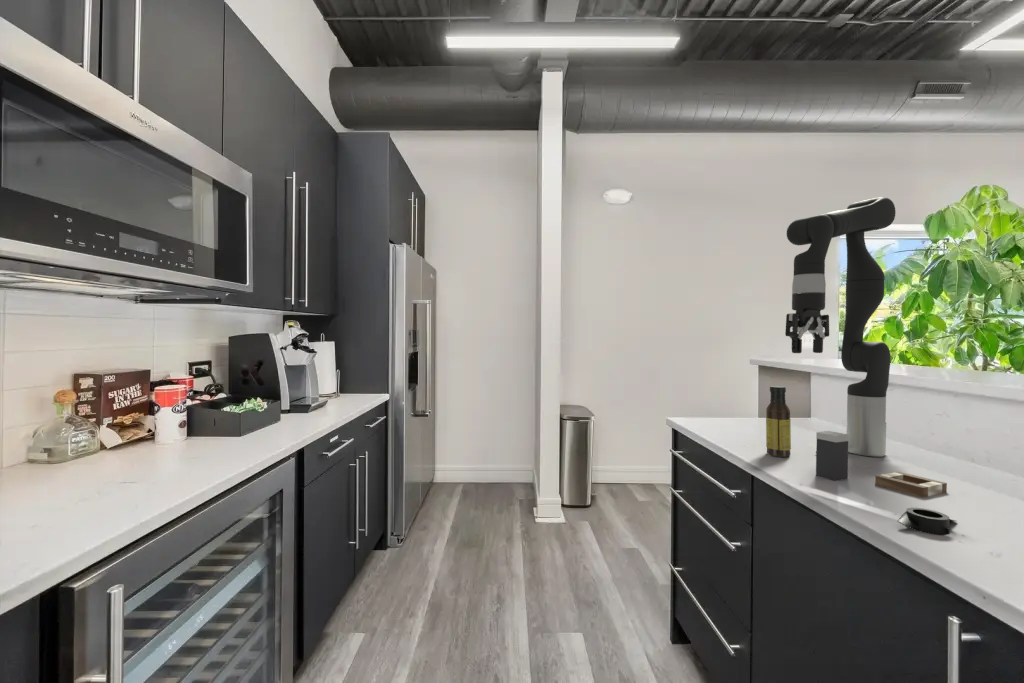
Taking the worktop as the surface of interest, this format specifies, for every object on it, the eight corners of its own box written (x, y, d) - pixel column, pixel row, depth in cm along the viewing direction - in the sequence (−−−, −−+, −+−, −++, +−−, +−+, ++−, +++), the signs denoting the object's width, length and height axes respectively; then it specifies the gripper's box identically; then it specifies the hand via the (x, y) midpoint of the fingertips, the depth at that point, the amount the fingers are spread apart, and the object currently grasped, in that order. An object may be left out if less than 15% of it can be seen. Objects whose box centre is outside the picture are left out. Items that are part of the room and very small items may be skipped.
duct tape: (885, 517, 90) (886, 502, 90) (953, 526, 86) (953, 510, 86) (899, 532, 83) (900, 516, 83) (974, 543, 79) (974, 526, 79)
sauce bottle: (790, 454, 137) (792, 386, 137) (790, 458, 132) (792, 388, 132) (765, 451, 140) (767, 384, 140) (764, 455, 135) (766, 386, 135)
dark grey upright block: (827, 475, 115) (828, 430, 114) (847, 481, 110) (848, 434, 110) (815, 477, 113) (816, 432, 113) (835, 483, 109) (836, 435, 108)
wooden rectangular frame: (898, 484, 110) (898, 471, 110) (946, 496, 101) (946, 482, 101) (875, 489, 106) (875, 475, 106) (923, 502, 98) (923, 487, 98)
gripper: (812, 294, 131) (810, 352, 132) (777, 292, 126) (776, 352, 126) (840, 292, 124) (838, 353, 125) (804, 289, 119) (803, 353, 119)
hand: (807, 353), depth 125 cm, fingers open, 8 cm apart
